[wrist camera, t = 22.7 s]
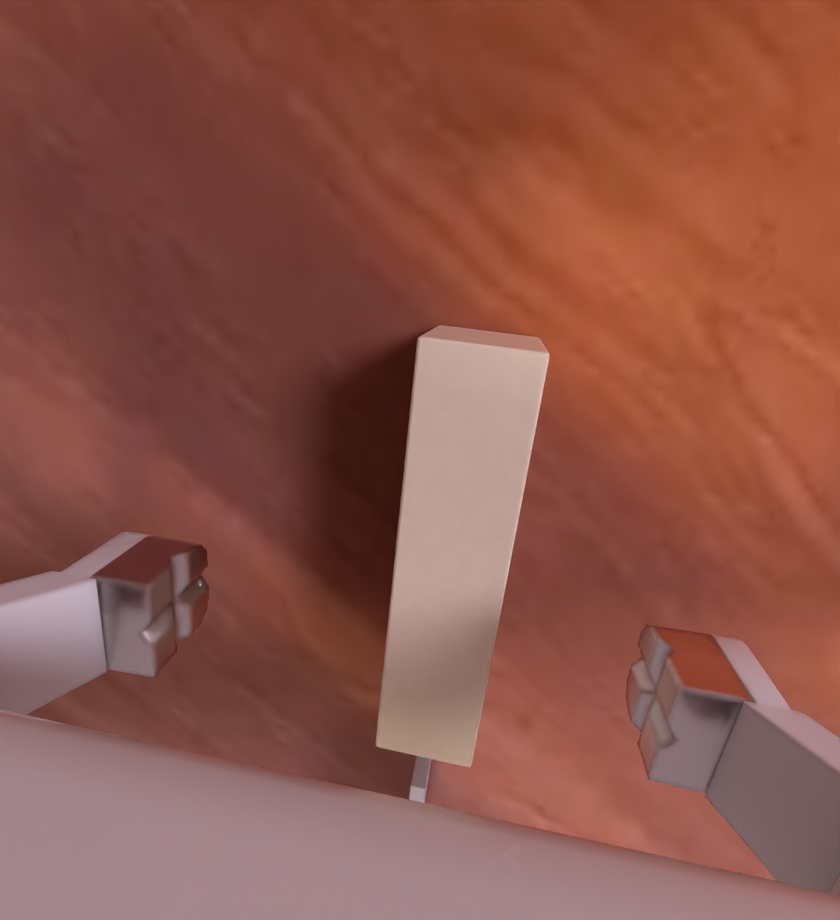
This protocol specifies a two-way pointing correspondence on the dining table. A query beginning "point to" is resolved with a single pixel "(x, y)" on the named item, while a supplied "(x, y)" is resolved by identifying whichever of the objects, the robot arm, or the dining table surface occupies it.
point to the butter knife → (455, 537)
